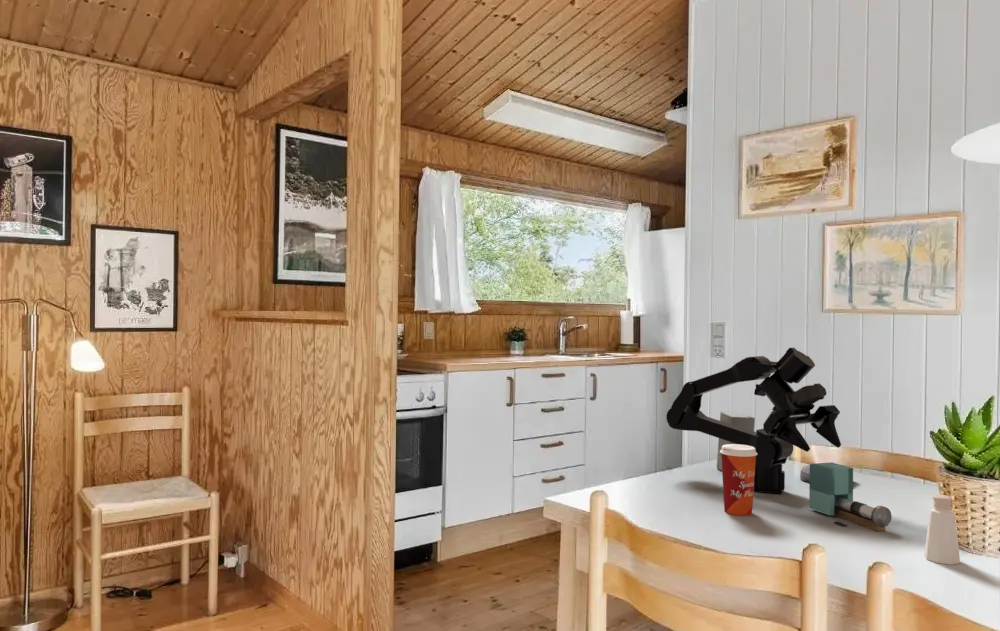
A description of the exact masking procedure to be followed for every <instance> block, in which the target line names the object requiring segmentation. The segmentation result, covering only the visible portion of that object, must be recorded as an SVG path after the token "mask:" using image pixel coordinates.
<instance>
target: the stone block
mask: <svg viewBox="0 0 1000 631" xmlns="http://www.w3.org/2000/svg"><path fill="white" fill-rule="evenodd" d="M810 464H811V463H807V464H806V465H804V466H802V467H801V469H800V474H799V478H800V480H801V481H803V482H808V483H810Z"/></svg>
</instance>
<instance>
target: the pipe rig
mask: <svg viewBox="0 0 1000 631" xmlns="http://www.w3.org/2000/svg"><path fill="white" fill-rule="evenodd" d="M833 516H835V517H837V518H840V519H843V520H846V521H849V522H851V523H853V524H857V525H859V526H862V527H864V528H868V529H869V530H873V531H876V532H883V531H886V528H887V526H889V525H890V523H891V521H892V511H891V509H890V508H888V507H886V506H883V505H877V506H875V507H874V506H869V505H868V504H865V503H863V502H859V501H857V500H856V501H855V500H853V501H852V500H849V499H846V498H843V497H840V496H837V495H834V515H833ZM833 524H835V525H837V526H840V527H842V528H843V527H848V524H845V523H843V522H841V521H834V522H833Z"/></svg>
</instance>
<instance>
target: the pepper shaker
mask: <svg viewBox="0 0 1000 631" xmlns="http://www.w3.org/2000/svg"><path fill="white" fill-rule="evenodd" d="M932 499H933V501H932V503H933V507H932V508H930V509H929V514H928V522H927V530H926V539H925V546H924V554H923V556H924V557H925V559H926V560H927V561H930V562H933V563H936V564H942V565H950V566H953V565H957V564H960V563H961V558H960V557H961V556H960V549H959V547H960V546H959V539H958V530H957V522H956V521H957V520H956V514H955V512H954V511H953V510H952V500H953V498H952V497H951V496H949V495H944V494H935V495H933V496H932Z"/></svg>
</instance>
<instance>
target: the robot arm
mask: <svg viewBox="0 0 1000 631" xmlns="http://www.w3.org/2000/svg"><path fill="white" fill-rule="evenodd" d="M815 367H816V364H815V362H814V360H813V359H812V358H811V357H810V356H809V355H806V354H805V353H804V352H801V351H800V350H798V349H796V348H795V347H789V348H788V349H787V350H786V351H785V353H784V354H783V356H781V357H780V359H779V360H778V361H771V360H770V359H769V358H768V357H766V356H764V355H757V356H746V357H745V358H743V359H741V360H740V361H737V362H735V364H734V365H732V366H731V367H729V368H728V369H725V370H722V371H719V372H716V373H714V374H710V375H708V376H704V377H701V378H699V379H695V380H692V381H687V382H685V384H683V387H682V389H681V391H680V392H679V394H678V396H677V397H676V398H675V399H674V401H673V402H672V404H671V406H670V409H668V411H667V412H666V417H665V418H666V422H667V424H668V426H669V427H670V428H672V430H673V429H674V430H680V431H687V432H689V431H691V432H692V431H693V432H700V433H702V434H705V435H709V436H712V437H715V438H717V439H719V438H720V439H723V440H726V441H729V442H732V443H735V444H740V445H748V446H752V447H754V448H755V449H756V452H757V455H756V462H755V477H754V492H759V493H768V494H776V495H777V494H779V495H783V491H784V490H785V487H786V486H785V485H786V484H785V482H786V480H785V479H786V476H785V474H786V472H785V470H783V465H784V464H786V462H787V460H788V458H789V457H791V456H792V454H793V453H794V446H795V447H797V448H798V449H801V450H803V451H804V452H807V453H808V452H809V451H810V450H811V447H810V445H809V444H808V442H807V441H806V439H805V438H804V436H803V435H802V434H801V432H800V431H799V429H798V428H797V426H798V425H807V424H810V425H811V427H812V428H813V429H815V432H816V433H817V434H818V435H820V436H821V437H822V438H823V439H825V440H826V441H828V442H829V443H830V444H831V445H832V446H834V447H836V448H840V447H841V446H842V443H841V440H840V437H839V434H838V431H837V428H836V425H835V424H836V422H835V421H836V420H837V418H838V417H839V415H840V414H841V412H840V410H839V409H838V407H837V406H836V405H834V404H829V405H820V406H818V407H817V409H816V411H814V413H811V410H813V409H814V408H815V403H817V402H819V401H820V400H823V399H825V397H826V396H827V390H826V388H825V387H824V386H823V385H822V384H821V383H813V385H812V384H811V385H805V386H802V387H801V388H799V389H797V390H794V388H792V386H791V385H790V384H793V383H794V384H799V383H800V382H801V381H802V380H803V379H804V378H805V377H806V376H807V375H808V374H809V373H810V372H811V371H812V370H813V369H814V368H815ZM758 380H762V381H761V382H760V384H757V383H756V384H755V389H754V392H753V394H754V396H760V397H767V398H768V400H770V402H771V403H772V405H773V407H772V411H771V412H770V413H769V415H768V417H766V420H765V421H764V423H763V426H762V427H763V428H761V429H756V430H754V431H751V430H748V429H744V428H741V427H738V426H735V425H732V424H729V423H726V422H722V421H720V419H719V420H718V419H716V418H712V417H709V416H707V415H705V413H704V412H703V411H701V410H700V409H701V407H702V397H703V394H706V393H710V392H712V391H717V390H718V389H722V388H725V387H728V386H730V385H735V384H738V383H744V382H750V381H758Z"/></svg>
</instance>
